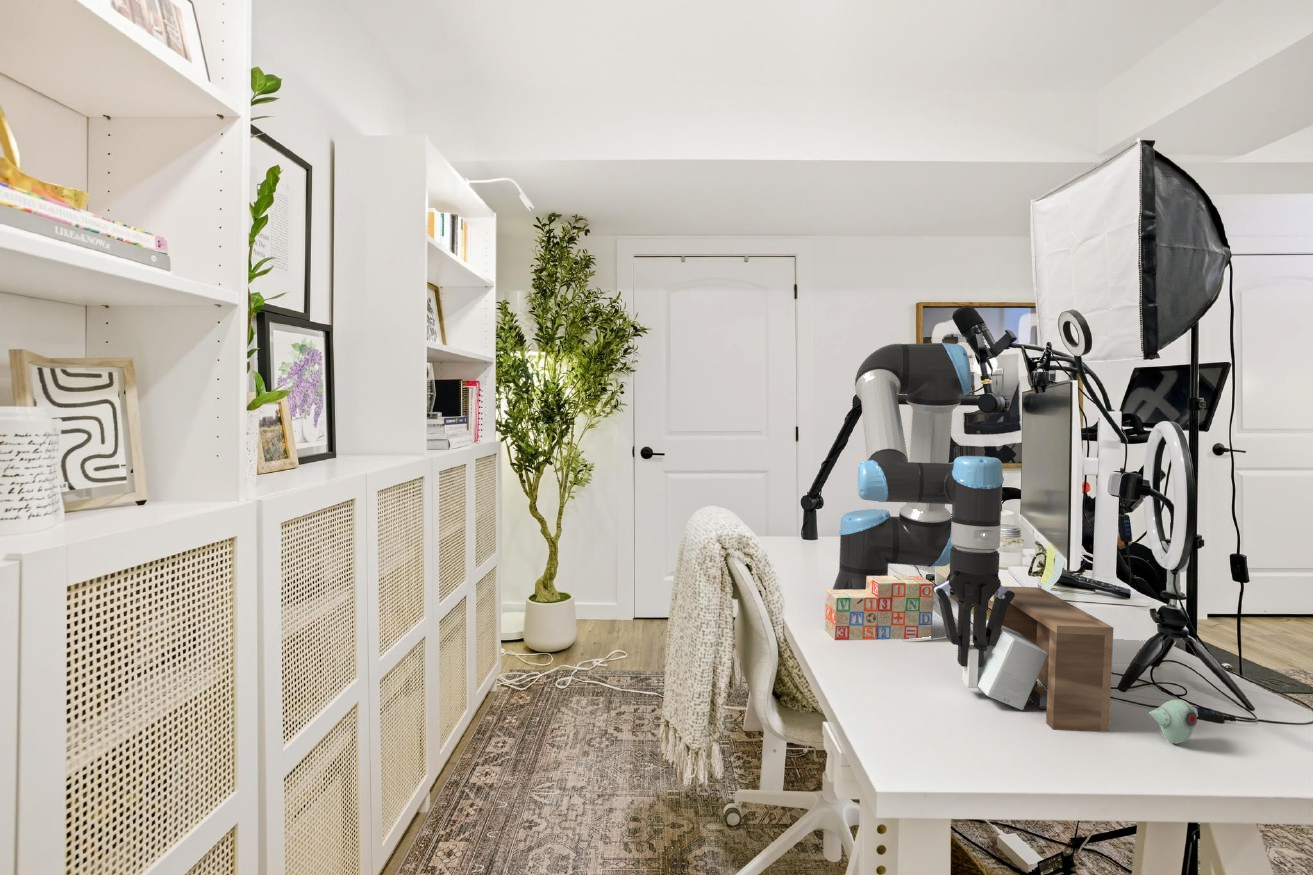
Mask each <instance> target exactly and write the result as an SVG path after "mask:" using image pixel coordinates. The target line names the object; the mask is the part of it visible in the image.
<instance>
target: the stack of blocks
mask: <svg viewBox="0 0 1313 875" xmlns="http://www.w3.org/2000/svg"><path fill="white" fill-rule="evenodd" d="M933 586H934V583H933V582H931V581H930V580H928V579H926V578H924V577H923V576H919V575H907V574H906V575H905V574H904V575H902V574H897V575H895V574H894V575H888V576H867V579H866V590H832V589H826V591H825V592H826V593H825V596H826V598H825V612H824V613H825V616H824V617H825V623H824V624H825V627H824V629H825V630H824V631H826V632H827V634H828V635H829V636H830V637H831V638H832V639H833V640H836V641H839V640H840V641H841V640H843V641H844V640H846V641H847V640H850V641H856V640H857V641H858V640H859V641H861V640H864V641H868V640H869V641H871V640H910V639H909V638H922V637H929V636H932V633H933V626H932V625H933V611H934V591H933Z"/></svg>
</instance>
